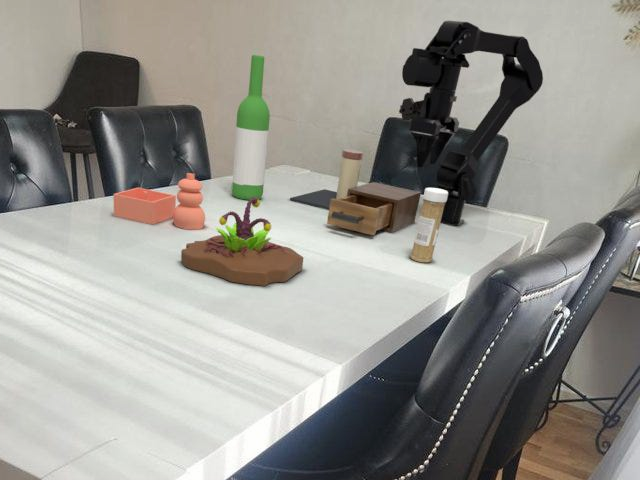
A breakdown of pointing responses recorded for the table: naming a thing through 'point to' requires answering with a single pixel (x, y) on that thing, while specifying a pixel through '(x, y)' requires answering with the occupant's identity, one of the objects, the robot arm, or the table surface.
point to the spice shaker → (349, 171)
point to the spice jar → (428, 224)
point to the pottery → (163, 205)
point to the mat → (316, 198)
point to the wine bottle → (251, 137)
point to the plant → (243, 253)
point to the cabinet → (400, 197)
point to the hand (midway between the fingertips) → (426, 165)
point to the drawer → (360, 213)
